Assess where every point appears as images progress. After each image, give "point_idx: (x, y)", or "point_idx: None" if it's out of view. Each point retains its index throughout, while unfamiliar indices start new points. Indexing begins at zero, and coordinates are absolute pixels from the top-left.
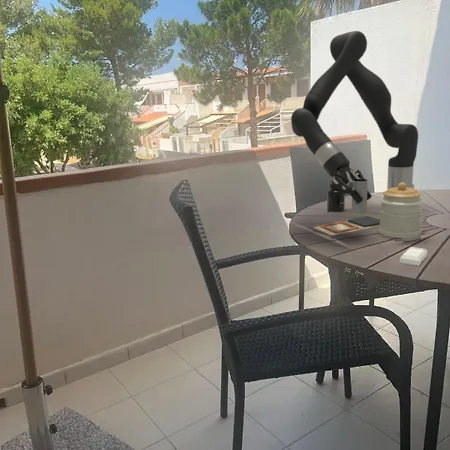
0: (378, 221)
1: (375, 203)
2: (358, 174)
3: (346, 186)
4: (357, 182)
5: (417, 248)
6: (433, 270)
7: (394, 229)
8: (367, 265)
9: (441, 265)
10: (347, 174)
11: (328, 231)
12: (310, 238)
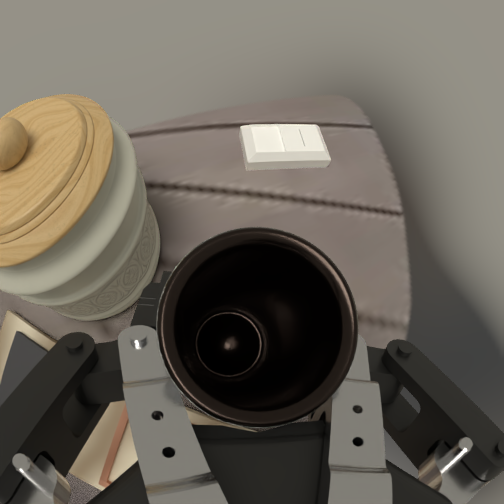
0: (27, 354)
1: None
2: (30, 457)
3: (427, 367)
4: (351, 304)
5: (253, 139)
6: (317, 110)
7: (153, 226)
8: (390, 219)
9: (280, 104)
10: (379, 484)
11: None
12: None
